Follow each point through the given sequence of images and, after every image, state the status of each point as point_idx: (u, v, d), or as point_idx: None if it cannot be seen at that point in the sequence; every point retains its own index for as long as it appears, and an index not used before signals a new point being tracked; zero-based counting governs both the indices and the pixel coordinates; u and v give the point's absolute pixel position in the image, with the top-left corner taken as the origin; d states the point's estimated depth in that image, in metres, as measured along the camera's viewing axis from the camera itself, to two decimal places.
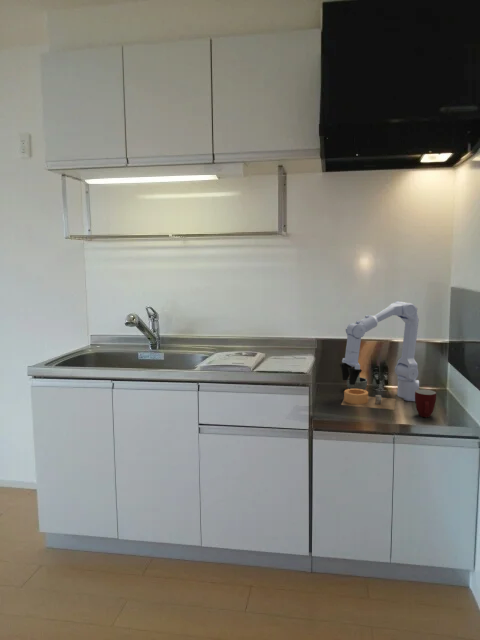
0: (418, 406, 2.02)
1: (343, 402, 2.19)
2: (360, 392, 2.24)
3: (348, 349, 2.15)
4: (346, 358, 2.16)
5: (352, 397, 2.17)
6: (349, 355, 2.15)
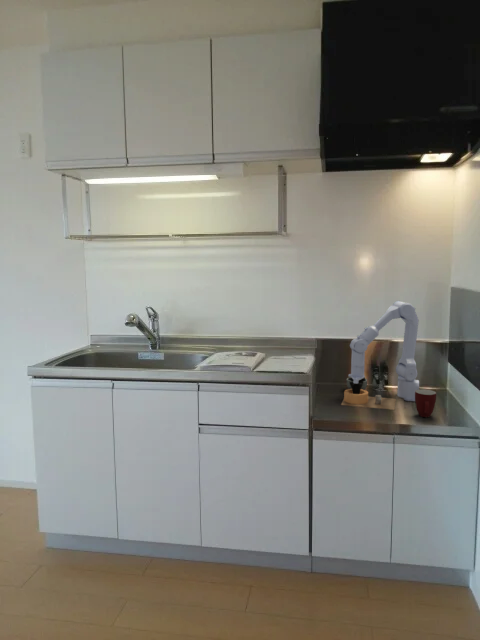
0: (418, 406, 2.02)
1: (343, 402, 2.19)
2: (360, 392, 2.24)
3: (352, 364, 2.22)
4: (351, 372, 2.24)
5: (352, 397, 2.17)
6: (352, 369, 2.23)
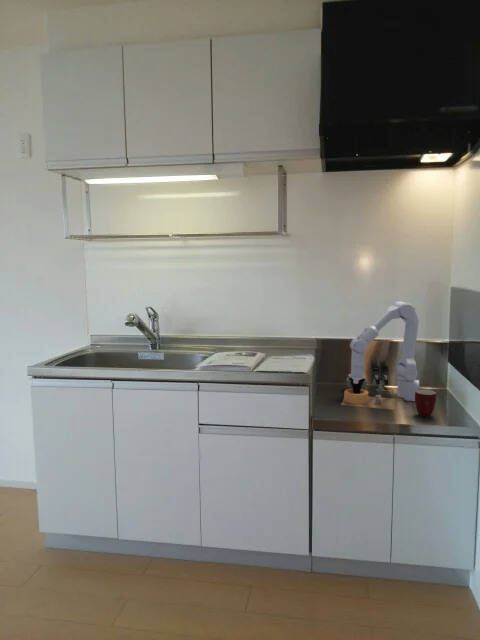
0: (418, 406, 2.02)
1: (343, 402, 2.19)
2: (360, 392, 2.24)
3: (352, 364, 2.22)
4: (351, 372, 2.24)
5: (352, 396, 2.17)
6: (352, 369, 2.23)
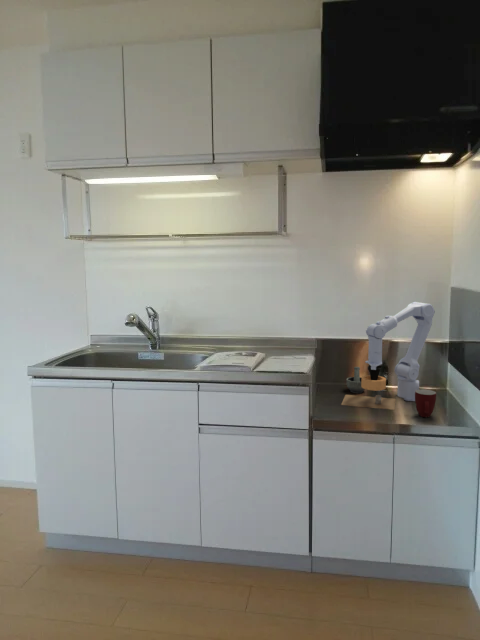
0: (418, 406, 2.02)
1: (343, 402, 2.19)
2: None
3: (371, 350, 2.17)
4: (368, 358, 2.20)
5: (370, 383, 2.13)
6: (369, 355, 2.18)
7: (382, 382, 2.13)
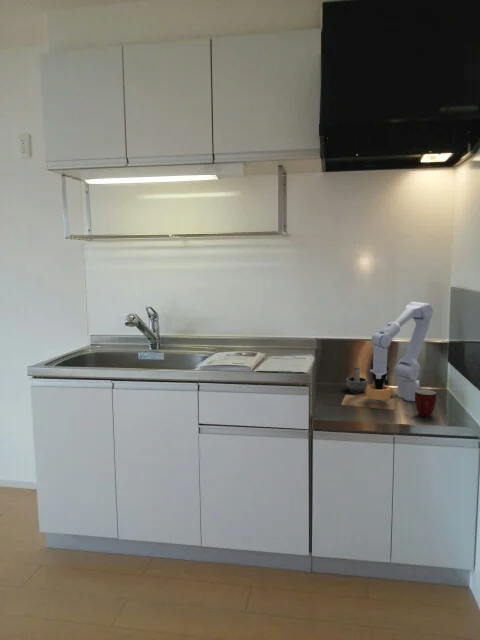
0: (418, 406, 2.02)
1: (343, 402, 2.19)
2: (382, 388, 2.19)
3: (376, 359, 2.16)
4: (373, 367, 2.19)
5: (375, 392, 2.12)
6: (374, 364, 2.18)
7: (387, 391, 2.12)
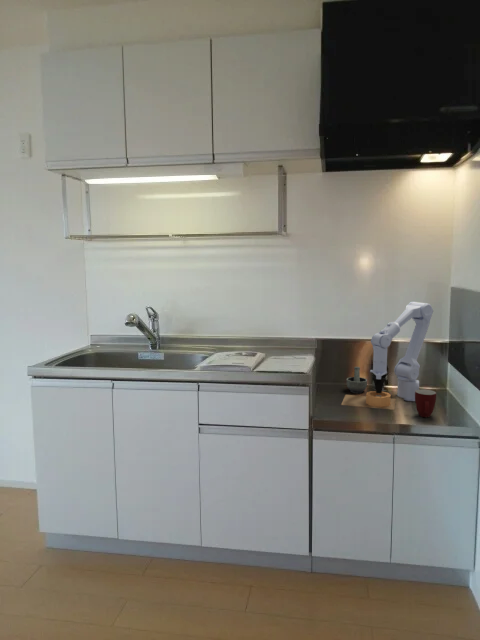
0: (418, 406, 2.02)
1: (343, 402, 2.19)
2: (382, 394, 2.20)
3: (376, 360, 2.17)
4: (373, 368, 2.19)
5: (375, 399, 2.13)
6: (374, 365, 2.18)
7: (387, 398, 2.13)
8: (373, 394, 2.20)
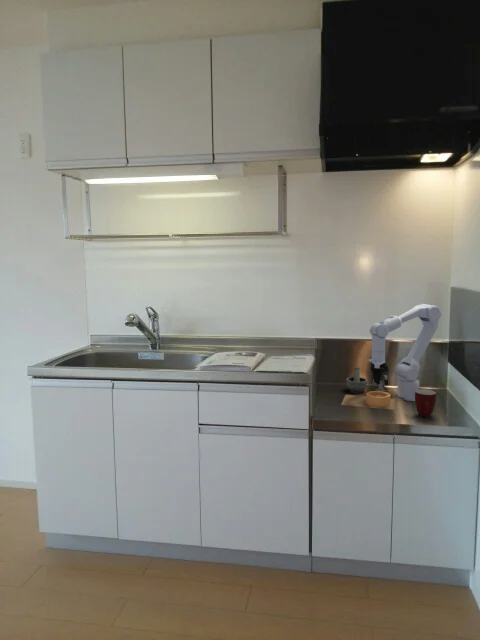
0: (418, 406, 2.02)
1: (343, 402, 2.19)
2: (382, 394, 2.20)
3: (374, 349, 2.20)
4: None
5: (375, 399, 2.13)
6: (373, 354, 2.20)
7: (387, 398, 2.13)
8: (373, 394, 2.20)
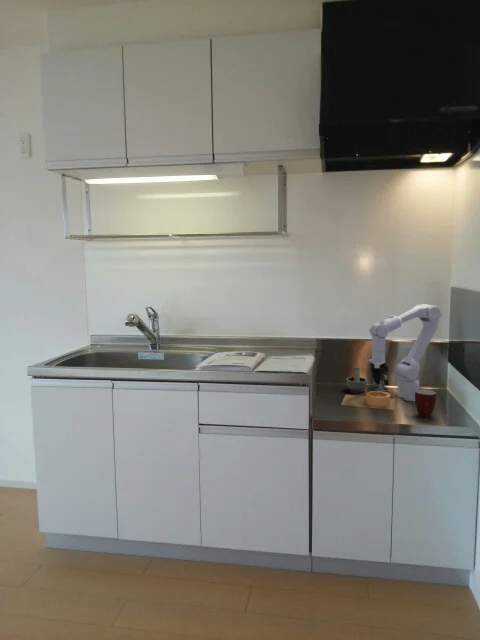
0: (418, 406, 2.02)
1: (343, 402, 2.19)
2: (382, 394, 2.20)
3: (374, 349, 2.20)
4: None
5: (375, 399, 2.13)
6: (373, 354, 2.20)
7: (387, 398, 2.13)
8: (373, 394, 2.20)
